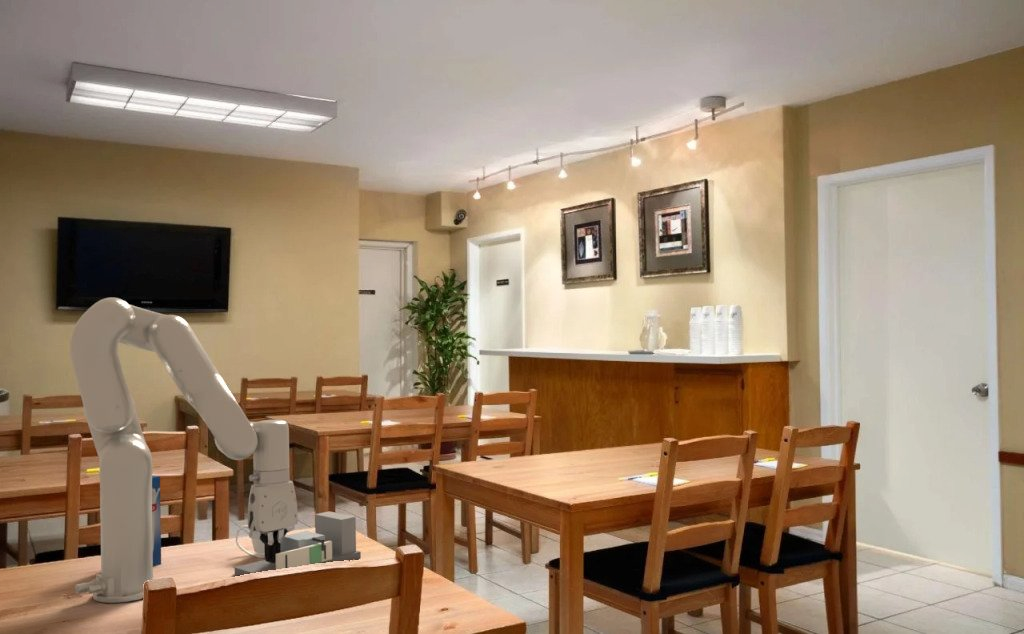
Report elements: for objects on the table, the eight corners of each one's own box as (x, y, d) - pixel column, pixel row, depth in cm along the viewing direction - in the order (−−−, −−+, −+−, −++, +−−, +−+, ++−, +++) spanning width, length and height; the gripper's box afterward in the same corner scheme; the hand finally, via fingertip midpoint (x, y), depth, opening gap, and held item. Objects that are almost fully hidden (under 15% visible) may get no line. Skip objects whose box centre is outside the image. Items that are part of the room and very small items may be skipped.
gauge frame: (266, 584, 175) (265, 538, 175) (234, 574, 183) (233, 530, 183) (361, 558, 194) (360, 516, 194) (328, 550, 202) (328, 510, 202)
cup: (275, 558, 195) (274, 523, 195) (231, 559, 195) (231, 525, 195) (282, 550, 202) (282, 517, 202) (240, 552, 202) (240, 518, 202)
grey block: (306, 566, 181) (305, 542, 181) (275, 557, 189) (275, 534, 189) (334, 558, 187) (334, 535, 187) (303, 550, 195) (303, 528, 195)
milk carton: (120, 574, 184) (119, 483, 185) (104, 570, 188) (103, 481, 188) (161, 563, 193) (160, 476, 193) (145, 560, 196) (144, 474, 196)
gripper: (250, 483, 175) (251, 572, 175) (310, 474, 187) (311, 557, 186) (231, 480, 180) (232, 566, 180) (290, 470, 192) (291, 551, 191)
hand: (272, 561), depth 183 cm, fingers closed
